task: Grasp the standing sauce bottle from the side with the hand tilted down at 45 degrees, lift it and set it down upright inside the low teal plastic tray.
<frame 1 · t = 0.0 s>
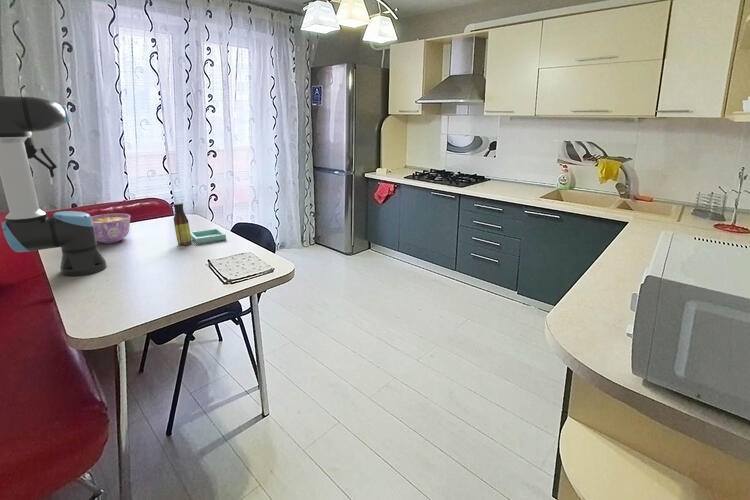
hand: (33, 185, 192), 28 cm above the table, tool pointing down, fingers open, 13 cm apart
tray: (207, 239, 212), on the table
bowl of food: (111, 241, 207), on the table
sauce bottle: (184, 244, 203), on the table
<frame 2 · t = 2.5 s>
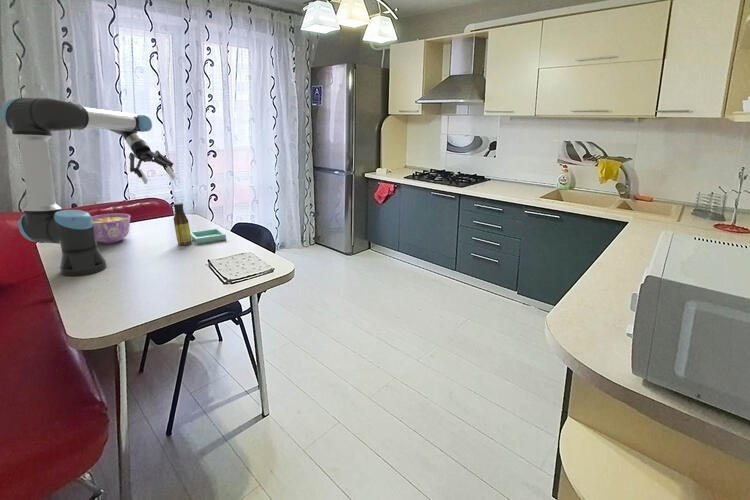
hand: (160, 180, 200), 30 cm above the table, tool tilted 45°, fingers open, 13 cm apart
nothing on the table moved.
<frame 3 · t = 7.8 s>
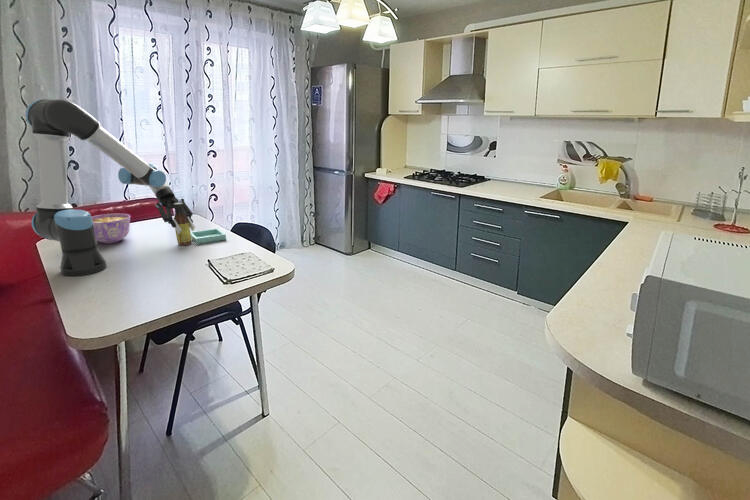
hand: (186, 230, 199), 7 cm above the table, tool tilted 45°, fingers closed on sauce bottle, 6 cm apart
sauce bottle: (184, 244, 203), on the table, touching gripper
everything else where it was.
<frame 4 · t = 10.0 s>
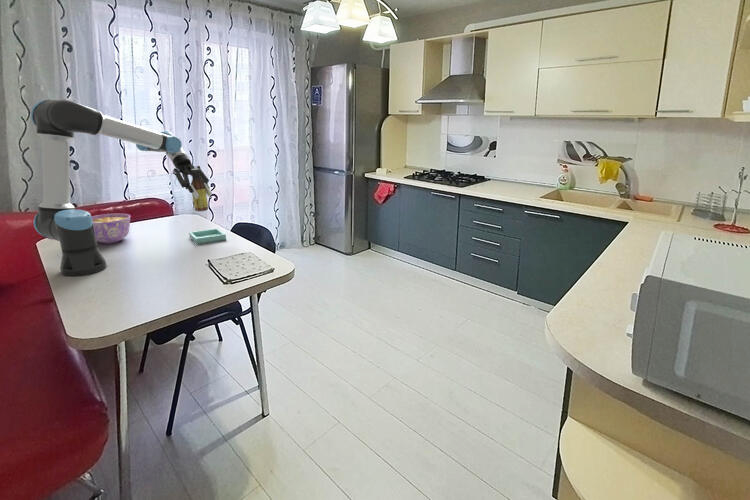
hand: (204, 196, 202), 22 cm above the table, tool tilted 45°, fingers closed on sauce bottle, 6 cm apart
sauce bottle: (201, 210, 206), point 15 cm above the table, touching gripper
everything else where it was.
when the fingers open (11 cm above the table, at t = 12.5 s): sauce bottle drops 2 cm, resting on tray.
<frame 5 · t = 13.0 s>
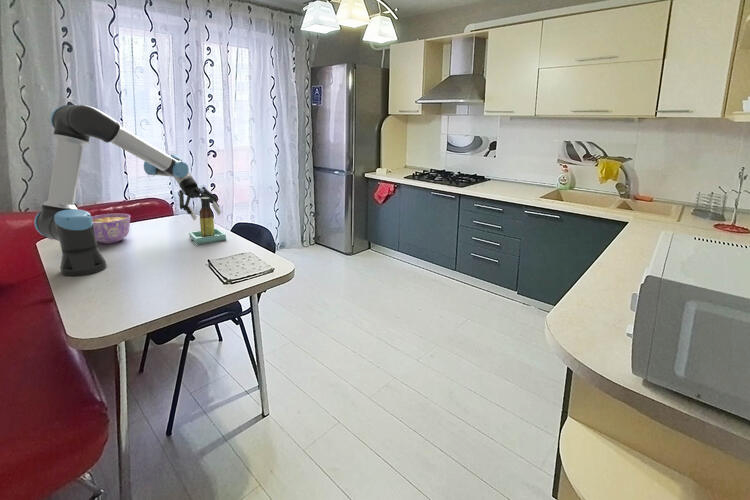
hand: (207, 216, 207), 12 cm above the table, tool tilted 45°, fingers open, 13 cm apart
sauce bottle: (207, 237, 211), point 1 cm above the table, touching tray
everything else where it was.
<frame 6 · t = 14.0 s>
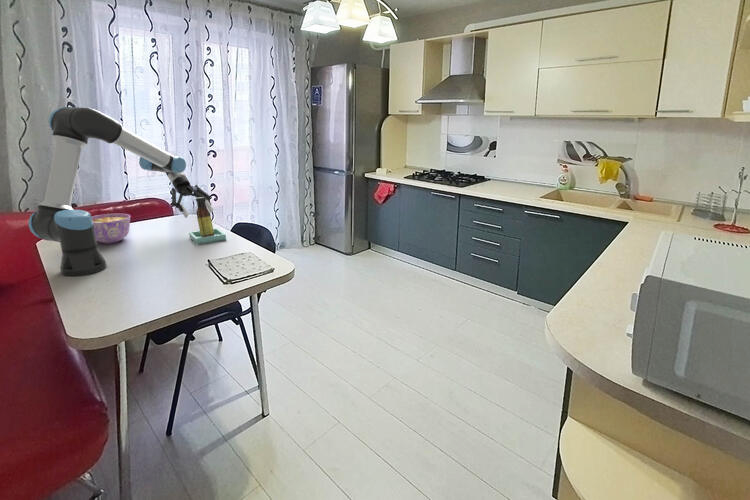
hand: (199, 213, 211), 12 cm above the table, tool tilted 45°, fingers open, 13 cm apart
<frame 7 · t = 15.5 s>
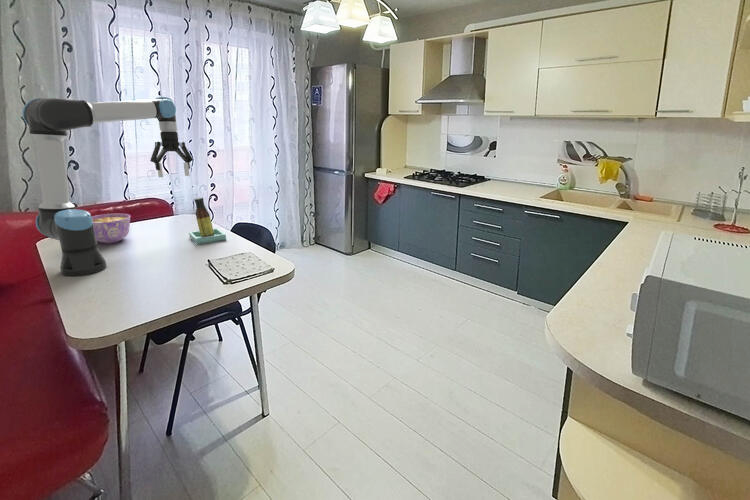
hand: (174, 176, 207), 30 cm above the table, tool pointing down, fingers open, 13 cm apart
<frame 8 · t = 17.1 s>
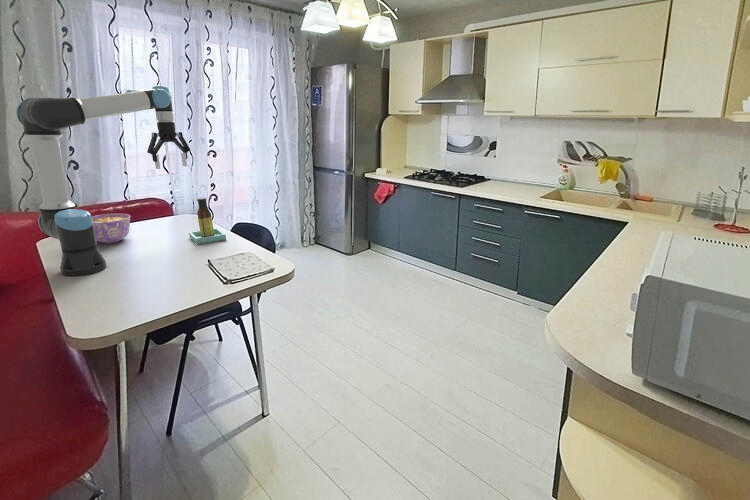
hand: (171, 167, 205), 35 cm above the table, tool pointing down, fingers open, 13 cm apart
at the end: sauce bottle inside the target area on the tray (0.1 cm from its centre), point 0.7 cm above the tray's base; sauce bottle tilted 1°; the gripper is holding nothing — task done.
